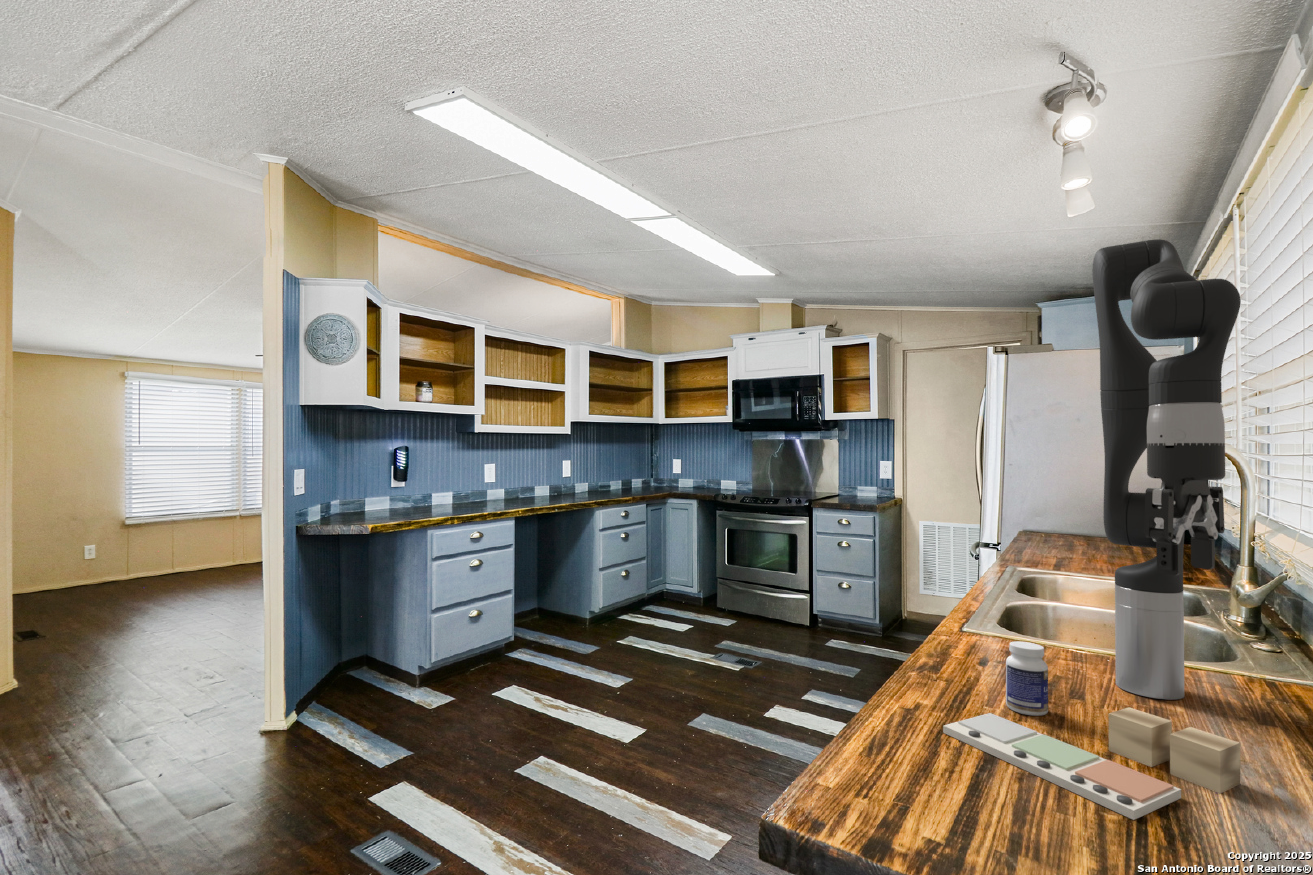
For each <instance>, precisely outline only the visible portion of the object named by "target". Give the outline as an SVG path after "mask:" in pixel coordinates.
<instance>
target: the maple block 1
mask: <svg viewBox="0 0 1313 875" xmlns="http://www.w3.org/2000/svg"><path fill="white" fill-rule="evenodd" d="M1172 723H1173V722H1172V720H1170V719H1168V718H1164V717H1161V716H1158V715H1154V714H1152V713H1148V712H1145V711H1142V710H1139V709H1135V708H1132V707H1130V706H1129V707H1125V708H1122V709H1119V710H1115V711H1113V712H1109V713H1108V751H1109V752H1111V753H1113V754H1117V755H1119V756H1121V757H1124V758H1127V759H1129V760H1132V761H1133V762H1137V763H1139V764H1142V765H1144V766H1147V767H1150V768H1154V767H1156V766H1159V765H1160V764H1163V763H1166V762H1168V761H1170V734H1172V733H1173V724H1172Z"/></svg>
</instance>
